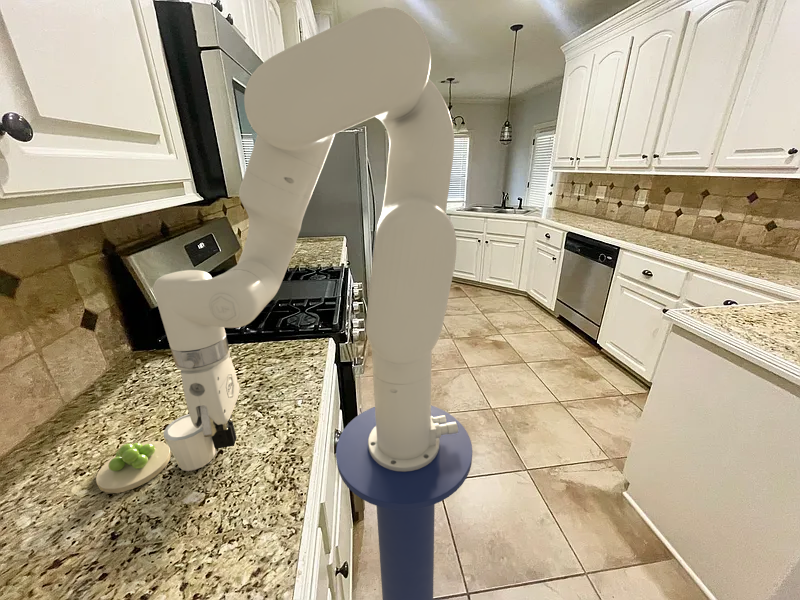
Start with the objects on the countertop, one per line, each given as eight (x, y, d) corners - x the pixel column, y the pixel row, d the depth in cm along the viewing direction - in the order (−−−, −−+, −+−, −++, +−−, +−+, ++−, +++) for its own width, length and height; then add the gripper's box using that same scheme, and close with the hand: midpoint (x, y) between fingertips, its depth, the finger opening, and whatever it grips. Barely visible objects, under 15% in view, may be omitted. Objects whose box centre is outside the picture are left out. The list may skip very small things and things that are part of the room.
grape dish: (180, 441, 63) (173, 419, 61) (155, 486, 54) (146, 462, 52) (119, 450, 61) (110, 427, 60) (82, 499, 52) (70, 474, 50)
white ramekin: (207, 473, 56) (197, 439, 54) (165, 474, 56) (153, 440, 54) (226, 442, 62) (218, 410, 60) (188, 443, 62) (179, 412, 60)
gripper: (213, 372, 47) (239, 474, 53) (238, 328, 61) (256, 413, 67) (152, 380, 46) (186, 483, 52) (192, 332, 59) (215, 419, 66)
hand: (226, 443), depth 60 cm, fingers closed
